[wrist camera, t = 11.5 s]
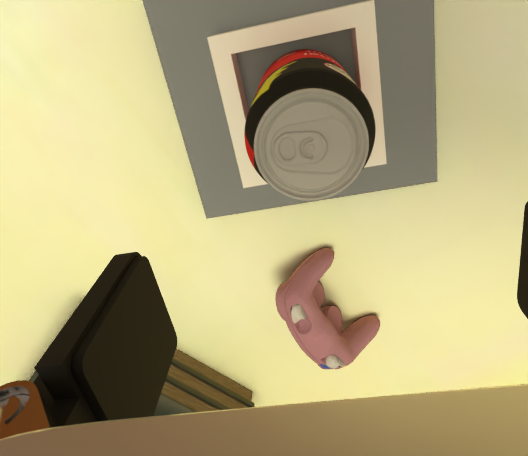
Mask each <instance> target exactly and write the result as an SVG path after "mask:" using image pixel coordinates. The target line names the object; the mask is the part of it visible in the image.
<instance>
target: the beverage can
mask: <svg viewBox="0 0 528 456" xmlns="http://www.w3.org/2000/svg"><path fill="white" fill-rule="evenodd" d="M375 133H376V127H375V119H374V114H373V111H372V108H371V105H370V103H369V101H368V99H367V98H366V96H365V95H364V93H363V92H362V91H361V89H360V88H359V87H358V86H357V84H356V83H355V82H354V81H353V80H352V78H351V77H350V76H349V75H348V73H347V72H346V71H345V70H344V69H343V67H342V66H341V65H340V64H339V63H338V62H337V61H336V60H335V59H334V58H332V57H331V56H329V55H327V54H325V53H323V52H320V51H317V50H310V49H302V50H296V51H292V52H289V53H287V54H285V55H283V56H281V57H280V58H278V59H277V60H276V61H274V62H273V63H272V64H271V65H270V67H269V68H268V69H267V70H266V72H265V74H264V75H263V77H262V79H261V82H260V84H259V87H258V89H257V92H256V94H255V97H254V99H253V102H252V104H251V107H250V109H249V112H248V115H247V119H246V123H245V133H244V136H245V146H246V150H247V154H248V157H249V159H250V161H251V163H252V165H253V167H254V168H255V170H256V171H257V173H258V174H259V175H260V176H261V177H262V179H263V180H264V181H266V182H267V183H268V184H269V185H270V186H272V187H273V188H274V189H275V190H277V191H278V192H280V193H282V194H284V195H286V196H288V197H291V198H294V199H298V200H306V201H313V200H321V199H325V198H329V197H331V196H334V195H336V194H338V193H340V192H341V191H343V190H344V189H346V188H347V187H348V186H349V185H350V184H352V182H353V181H354V180H355V179H356V178H357V177H358V175H359V174H360V172H361V171H362V170H363V168H364V167H365V165H366V164H367V162H368V160H369V158H370V155H371V153H372V150H373V146H374V141H375Z"/></svg>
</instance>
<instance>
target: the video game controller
mask: <svg viewBox="0 0 528 456" xmlns="http://www.w3.org/2000/svg"><path fill="white" fill-rule="evenodd" d="M333 259H334V251H333V250H332V249H330V248H323V249H320V250H318V251H316V252H315V253H313V254H312V255H310V256H309V257H308V258H306V259H305V260H304V261H303V262H302V263H301V264H300V265H299V266H298V267H297V268H296V269H295V271H294V272H293V273H292V275H291V276H290V277H289V278H288V280H287V281H286V282H284V283H282V284H281V285H280V286H279V287H278V289H277V292H276V306H277V310H278V312H279V314H280V316H281V317H282V318H283V319H284V320H285V321H286V323H287V326H288V328H289V330H290V332H291V334H292V336H293V337H294V339H295V340H296V342H297V343H298V345H299V346H300V348H301V349H302V350H303V351H304V352H305V353H306V354H307V356H309V357H310V358H311V359H312V360H313V361H314V362H316V363H317V364H318V366H320V367H321V368H322V369H339V368H342V367H344V366H347V365H349V364H350V363H351V362H353V361H354V359H355V358H356V357H357V356H358V355H359V353H360V352H361V351H362V350H363V349H364V348H365V347H366V346H367V344H368V343H369V342H370V341H371V340H372V339H373V338H374V337H375V335H376V334H377V332H378V330H379V327H380V320H379V318H378V317H376V316H374V315H369V316H365V317H362V318H361V319H359V320H357V321H356V322H354V323H353V324H351V325H350V326H349V327H347V328H346V329H345V330H344V331H343V332H342V315H341V312H340V310H339V309H338V308H337V307H336V306H325V307H321V308H319V307H320V306H321V305H322V304H323V302H324V299H325V294H324V289H323V287H322V285H321V284H320V283H319V282H318V281H319V279H320V278H321V277H322V276H323V274H324V273H325V272H326V271H327V270H328V268H329V267H330V266H331V264H332V261H333Z"/></svg>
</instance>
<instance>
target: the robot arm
mask: <svg viewBox="0 0 528 456" xmlns="http://www.w3.org/2000/svg"><path fill="white" fill-rule="evenodd" d="M517 299H518V304H519V306H520V309H521V310H522V312H523V313H524V314H525V316H526V317H527V318H528V202H527V203H526V205H525V211H524V222H523V233H522V245H521V256H520V268H519V279H518V290H517ZM176 347H177V336H176V332H175V330H174V327H173V324H172V322H171V319H170V316H169V314H168V311H167V308H166V306H165V303H164V300H163V298H162V295H161V292H160V290H159V287H158V284H157V281H156V279H155V276H154V273H153V271H152V268H151V265H150V263H149V260H148V259H147V257H145V256H141V255H140V254H139V253H138V252H133V253H126V254H119V255H115V256H114V257H113V258H112V260H111V261H110V262H109V264H108V265H107V267H106V268H105V269H104V271H103V272H102V274H101V275H100V276H99V278H98V279H97V281H96V282H95V283H94V285H93V286H92V288H91V289H90V290H89V292H88V293H87V295H86V296H85V297H84V299H83V300H82V302H81V303H80V304H79V306H78V307H77V309H76V310H75V311H74V313H73V314H72V316H71V317H70V318H69V320H68V321H67V323H66V324H65V325H64V327H63V328H62V330H61V331H60V332H59V334H58V335H57V337H56V338H55V339H54V341H53V342H52V344H51V345H50V346H49V348H48V349H47V351H46V352H45V353H44V355H43V356H42V358H41V359H40V360H39V362H38V363H37V365H36V366H35V367H34V368H35V369H36V371H37V373H38V374H39V375H38V376H37V378H36V379H35V381H34V382H30V381H27V380H22V381H14V382H11V383H7V384H5V385H2V386H0V456H528V384H521V385H508V386H496V387H484V388H472V389H460V390H449V391H437V392H426V393H414V394H402V395H391V396H379V397H368V398H356V399H345V400H333V401H321V402H310V403H298V404H286V405H274V406H263V407H251V408H239V409H228V410H217V411H206V412H195V413H184V414H173V415H162V416H153V415H154V412H155V409H156V406H157V404H158V401H159V398H160V395H161V392H162V389H163V386H164V383H165V380H166V377H167V374H168V371H169V368H170V365H171V362H172V360H173V357H174V354H175V351H176Z"/></svg>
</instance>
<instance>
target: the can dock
mask: <svg viewBox="0 0 528 456" xmlns="http://www.w3.org/2000/svg"><path fill="white" fill-rule="evenodd" d="M143 3H144V7H145V10H146V14H147V17H148V20H149V24H150V27H151V31H152V34H153V38H154V41H155V44H156V48H157V51H158V55H159V58H160V61H161V65H162V68H163V72H164V75H165V78H166V82H167V85H168V89H169V92H170V95H171V99H172V102H173V106H174V109H175V113H176V116H177V119H178V123H179V126H180V130H181V133H182V136H183V140H184V143H185V147H186V150H187V153H188V157H189V160H190V164H191V167H192V170H193V174H194V177H195V181H196V184H197V188H198V191H199V194H200V198H201V201H202V205H203V208H204V211H205V215H206V218H213V217H219V216H225V215H232V214H238V213H244V212H250V211H256V210H263V209H269V208H275V207H281V206H287V205H294V204H300V203H306V202H312V201H306V200H298V199H294V198H291V197H288V196H286V195H284V194H282V193H280V192H278V191H277V190H275V189H274V188H273V187H272V186H270V185H269V184H268V183H267V182H266V181H264V180H263V179H262V177H261V176H260V175H259V174H258V173H257V171H256V170H255V168H254V167H253V165H252V163H251V161H250V159H249V157H248V154H247V150H246V146H245V136H244V133H245V123H246V119H247V115H248V112H249V109H250V107H251V104H252V102H253V99H254V97H255V94H256V92H257V89H258V87H259V84H260V82H261V79H262V77H263V75H264V74H265V72H266V70H267V69H268V68H269V67H270V65H271V64H272V63H273V62H274V61H276V60H277V59H278V58H280V57H281V56H283V55H285V54H287V53H289V52H292V51H296V50H302V49H310V50H317V51H320V52H323V53H325V54H327V55H329V56H331V57H332V58H334V59H335V60H336V61H337V62H338V63H339V64H340V65H341V66H342V67H343V69H344V70H345V71H346V72H347V73H348V75H349V76H350V77H351V78H352V80H353V81H354V82H355V83H356V84H357V86H358V87H359V88H360V89H361V91H362V92H363V93H364V95H365V96H366V98H367V99H368V101H369V103H370V105H371V108H372V111H373V114H374V119H375V127H376V133H375V141H374V146H373V150H372V153H371V155H370V158H369V160H368V162H367V164H366V165H365V167H364V168H363V170H362V171H361V172H360V174H359V175H358V177H357V178H356V179H355V180H354V181H353V182H352V184H350V185H349V186H348V187H347V188H346V189H344V190H343V191H341V192H340V193H338V194H336V195H334V196H331V197H329V198H325V199H331V198H337V197H343V196H350V195H356V194H362V193H368V192H374V191H381V190H387V189H393V188H399V187H406V186H412V185H418V184H424V183H430V182H437V138H436V88H435V38H434V0H143ZM325 199H321V200H325ZM313 201H319V200H313Z"/></svg>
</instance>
